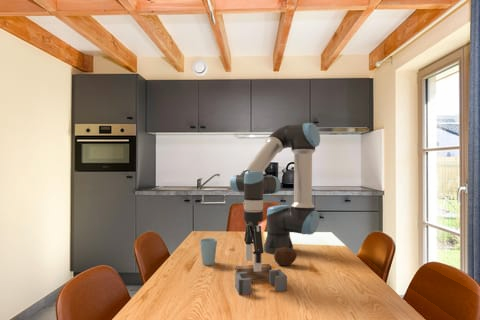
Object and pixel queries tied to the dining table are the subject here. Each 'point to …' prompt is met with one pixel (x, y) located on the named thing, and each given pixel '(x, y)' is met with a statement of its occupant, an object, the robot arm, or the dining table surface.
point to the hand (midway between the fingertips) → (252, 265)
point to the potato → (284, 256)
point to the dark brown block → (255, 275)
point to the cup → (208, 250)
